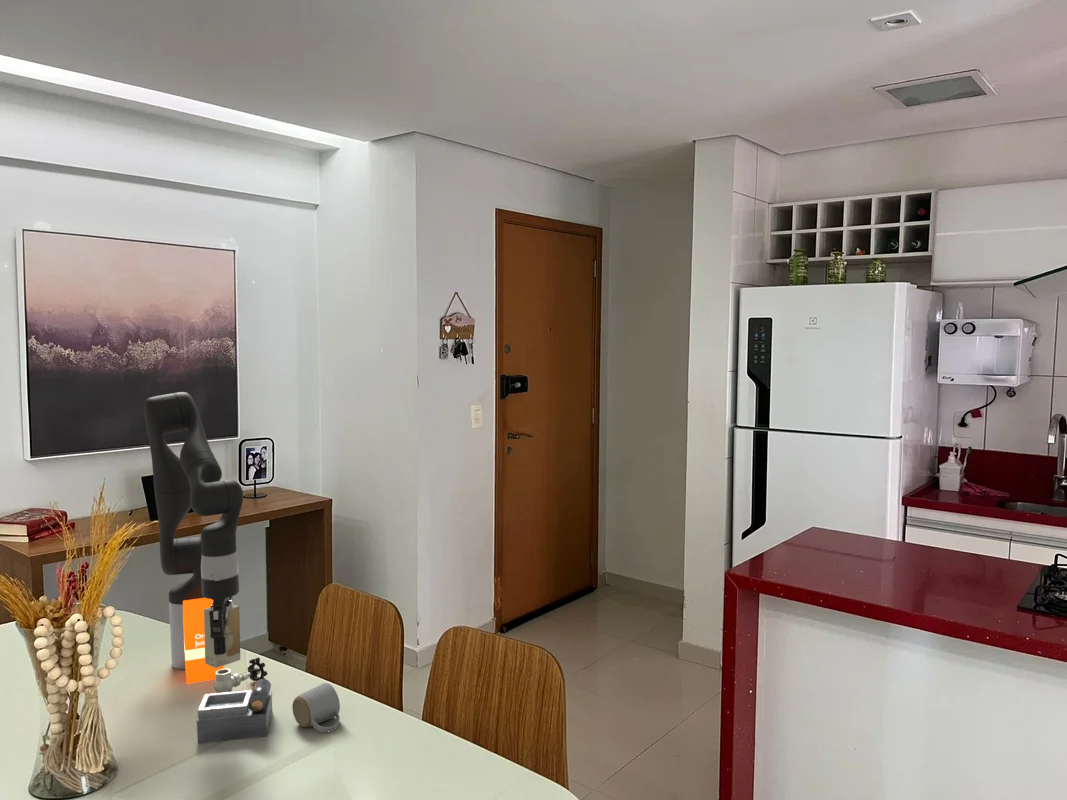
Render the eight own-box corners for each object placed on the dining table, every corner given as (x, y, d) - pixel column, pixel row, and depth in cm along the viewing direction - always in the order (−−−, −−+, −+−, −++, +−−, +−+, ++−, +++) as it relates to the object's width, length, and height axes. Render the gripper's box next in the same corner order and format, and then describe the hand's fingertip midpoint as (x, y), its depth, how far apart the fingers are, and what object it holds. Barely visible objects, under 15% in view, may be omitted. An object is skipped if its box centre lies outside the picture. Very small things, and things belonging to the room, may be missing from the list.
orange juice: (185, 672, 209) (181, 596, 207) (222, 666, 212) (219, 591, 210) (186, 684, 201) (182, 605, 200) (224, 677, 205) (221, 600, 203)
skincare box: (215, 669, 174) (213, 613, 173) (204, 664, 177) (201, 609, 176) (242, 659, 179) (240, 605, 178) (231, 654, 182) (228, 601, 181)
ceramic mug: (290, 723, 181) (289, 690, 181) (321, 710, 187) (321, 677, 187) (317, 739, 174) (316, 705, 174) (349, 725, 180) (348, 692, 180)
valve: (224, 705, 190) (268, 686, 200) (223, 678, 190) (267, 660, 200) (208, 698, 194) (251, 680, 204) (207, 671, 194) (250, 654, 203)
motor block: (207, 719, 184) (205, 682, 183) (272, 712, 186) (271, 676, 186) (197, 743, 173) (195, 704, 172) (266, 736, 176) (265, 697, 175)
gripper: (207, 564, 182) (210, 636, 184) (194, 584, 168) (198, 662, 170) (243, 562, 184) (245, 633, 185) (233, 581, 170) (236, 658, 171)
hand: (223, 647), depth 178 cm, fingers closed on skincare box, 7 cm apart
